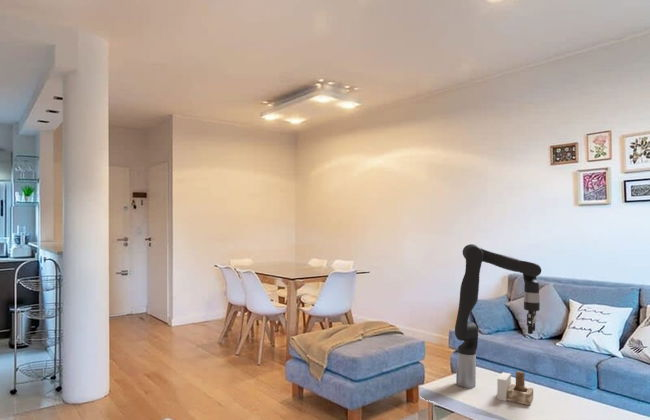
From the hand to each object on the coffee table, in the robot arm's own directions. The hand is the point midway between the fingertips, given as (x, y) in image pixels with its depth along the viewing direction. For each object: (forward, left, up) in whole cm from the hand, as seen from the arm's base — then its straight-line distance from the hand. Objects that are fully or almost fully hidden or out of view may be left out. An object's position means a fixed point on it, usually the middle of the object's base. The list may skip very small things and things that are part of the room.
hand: (531, 332), depth 232 cm
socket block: (-2, -17, -30) cm, 35 cm away
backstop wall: (-10, -17, -30) cm, 36 cm away
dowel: (-3, -17, -29) cm, 34 cm away
